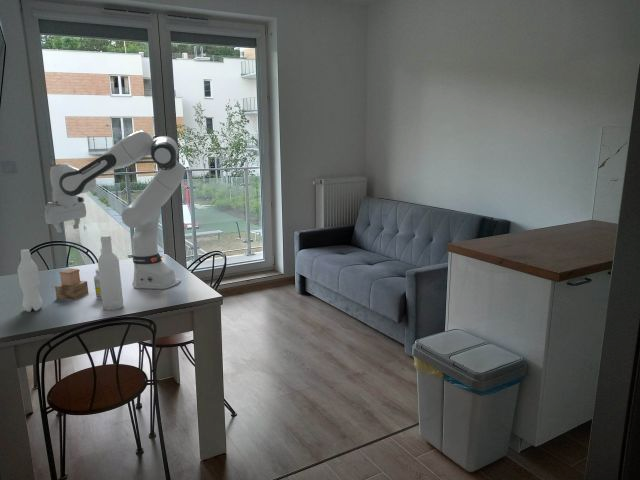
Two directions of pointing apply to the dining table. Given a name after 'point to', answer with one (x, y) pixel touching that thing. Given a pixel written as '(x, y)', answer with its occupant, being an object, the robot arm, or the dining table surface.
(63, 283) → the brown cardboard box
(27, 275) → the water bottle
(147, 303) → the dining table surface
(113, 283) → the bottle
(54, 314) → the dining table surface
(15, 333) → the dining table surface
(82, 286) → the walnut box
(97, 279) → the supplement bottle
